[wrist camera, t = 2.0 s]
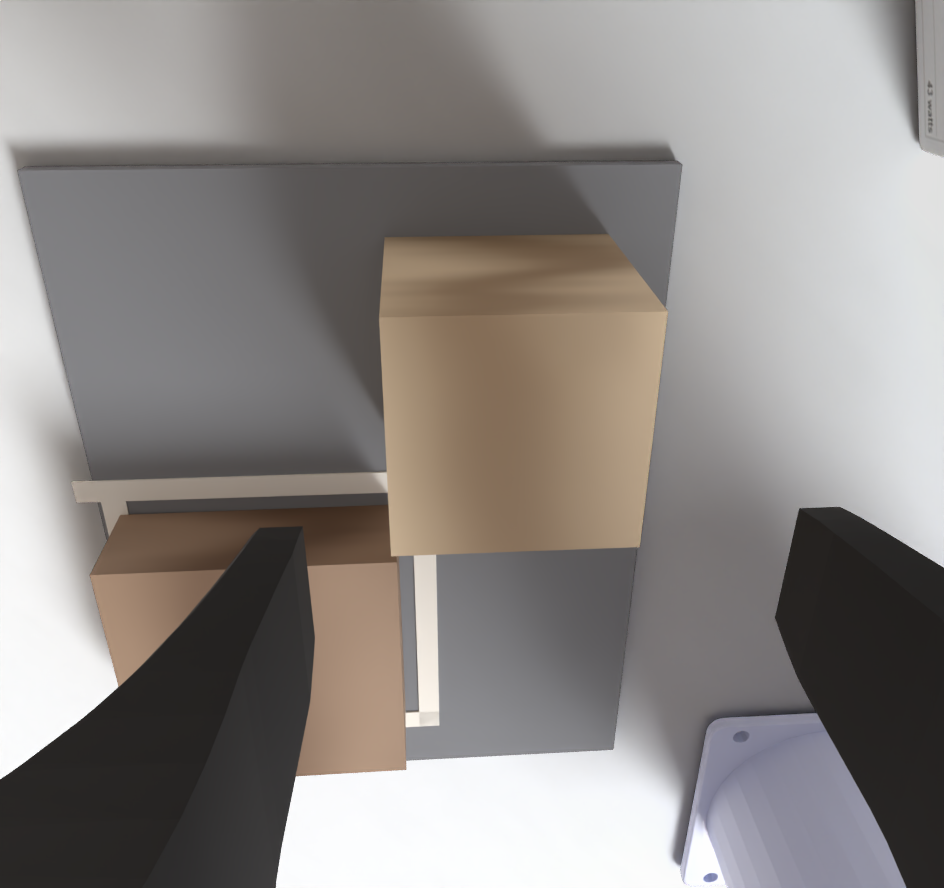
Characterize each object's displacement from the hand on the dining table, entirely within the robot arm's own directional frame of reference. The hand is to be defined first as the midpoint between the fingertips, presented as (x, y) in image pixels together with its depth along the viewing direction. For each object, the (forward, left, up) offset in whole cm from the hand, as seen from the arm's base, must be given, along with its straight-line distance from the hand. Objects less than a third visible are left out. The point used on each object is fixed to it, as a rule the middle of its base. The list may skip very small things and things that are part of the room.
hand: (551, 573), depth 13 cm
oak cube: (0, 0, -9) cm, 9 cm away
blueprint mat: (+3, +5, -9) cm, 11 cm away
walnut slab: (+6, +8, -9) cm, 13 cm away
